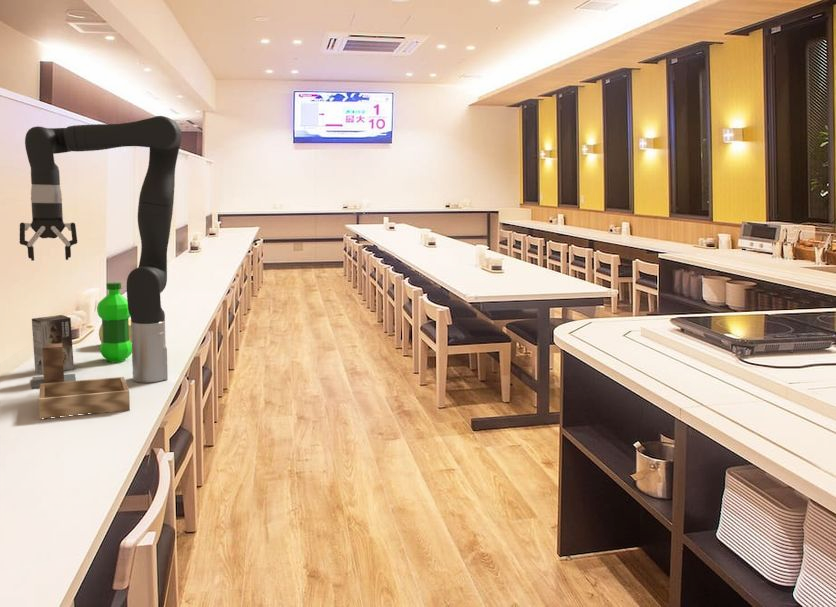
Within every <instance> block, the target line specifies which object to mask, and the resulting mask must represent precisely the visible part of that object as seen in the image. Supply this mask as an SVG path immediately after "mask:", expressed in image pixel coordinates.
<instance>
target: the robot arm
mask: <svg viewBox="0 0 836 607" xmlns="http://www.w3.org/2000/svg"><path fill="white" fill-rule="evenodd" d="M182 135H183V134H182V129H181V128H180V126H179V123H177V122H176V121H175V120H174V119H172V118H169V117H168V116H163V115H157V116H153V117H149V118H144V119H140V120H136V121H130V122H123V123H122V122H121V123H103V124H102V123H99V124H98V123H97V124H95V123H93V124H77V125H76V124H75V125H68V126H67V127H55V128H52V127H49V128H48V127H44V126H33V127H31V128H29V129H28V130H27V131H26V133H25V137H24V146H25V151H26V155H27V160H28V163H29V167H30V183H31V188H30V202H31V218H32V220H31V223H30V222H29V223H27V222H20V223H19V244H20V245H23V246H26V248H27V256H28V258H29V259H30V260H31V261H35V252H34V251H35V250H34V248H35V247H34V246H33V245H34V244H35V243H36V241H37V240H38V239H39V238H41V239H48V238H49V239H56V238H59V240H60V241H61V242H63V244H64V250H65V251H64V252H65V253H64V256H65V257H64V258H65V261H69V258H71V257H72V250H71V247H72V246H74V245H77V244H78V237H77V236H78V235H77V228H76V226H77V225H76V223H75V222H68V223H67V222H66V223H65V222H64V220H63V219H64V216H63V197H62V196H63V194H62V190H61V182H60V181H61V179H60V170H59V166H58V165H57V164H56V163H55V156H54V155H55V154H64V153H68V152H76V153H77V152H90V151H91V152H94V151H104V150H109V149H116V148H124V147H126V148H127V147H141V148H143V147H144V148H149V154H148V155H149V156H148V157H149V158H148V166H147V170H146V174H145V177H144V179H143V182H142V184H141V185H142V186H141V188H140V193H139V196H138V197H139V198H138V208H137V225H138V226H137V227H138V230H139V231H138V232H139V236H140V237H139V238H140V242H141V243H140V244H141V246H140V247H141V250H140V257H139V258H140V259H139V262H138V267H136V268H134V269H133V270H131V271H130V272H129V273H128V275H127V278H126V299H127V302H128V311H129V314H130V320H131V338H132V343H131V344H132V353H131V363H132V365H131V366H132V380H133V381H134V382H136V383H156V382H161V381H162V382H163V381H167V380H168V379H169V377H168V372H169V371H168V348H167V346H166V344H167V342H166V320H165V319H166V313H165V311H164V310H163V308H162V302H161V293H163V291H164V290H165V289H166V286H167V281H168V268H167V267H168V245H169V241H170V235H171V226H172V219H173V212H174V204H175V203H174V199H175V185H176V183H175V178H176V177H175V174H176V166H177V160H178V156H179V151H180V147H181V142H182ZM29 228H31V229H32V230H33V231H34V234H33V236H32V237H31V238H30V239H29V241H28V240H26V232H27V231H28V230H29ZM65 228H66V229H67V230H68V231H70V232H71V240H68V238H67V237H65V235H64V234H63V233H62V232H63V230H64V229H65Z"/></svg>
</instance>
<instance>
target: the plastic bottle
mask: <svg viewBox="0 0 836 607" xmlns="http://www.w3.org/2000/svg"><path fill="white" fill-rule="evenodd" d="M121 289H122V283H121V282H107V283H106V290H107V291H108V294H107V295H106V296H104V297H103V298H102V299H101V300H100V301H99V302H98V303H97V306H96V310H97V311H96V312H97V316H99V318H100V319H101V324H102V333H103V341H102V343H101V342H100V346H99V353H100V354H101V355H102V357H103V358H104V359H105V360H106V361H108V362H110V363H119V362H125V361H126V359H128V358H129V357H130V356H132V343H131V342H130V341H129V321H128V319H130V318H131V316H130V314H129V311H128V302H127V297H124V296H123V295H122V294H121V293H120V291H121Z"/></svg>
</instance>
